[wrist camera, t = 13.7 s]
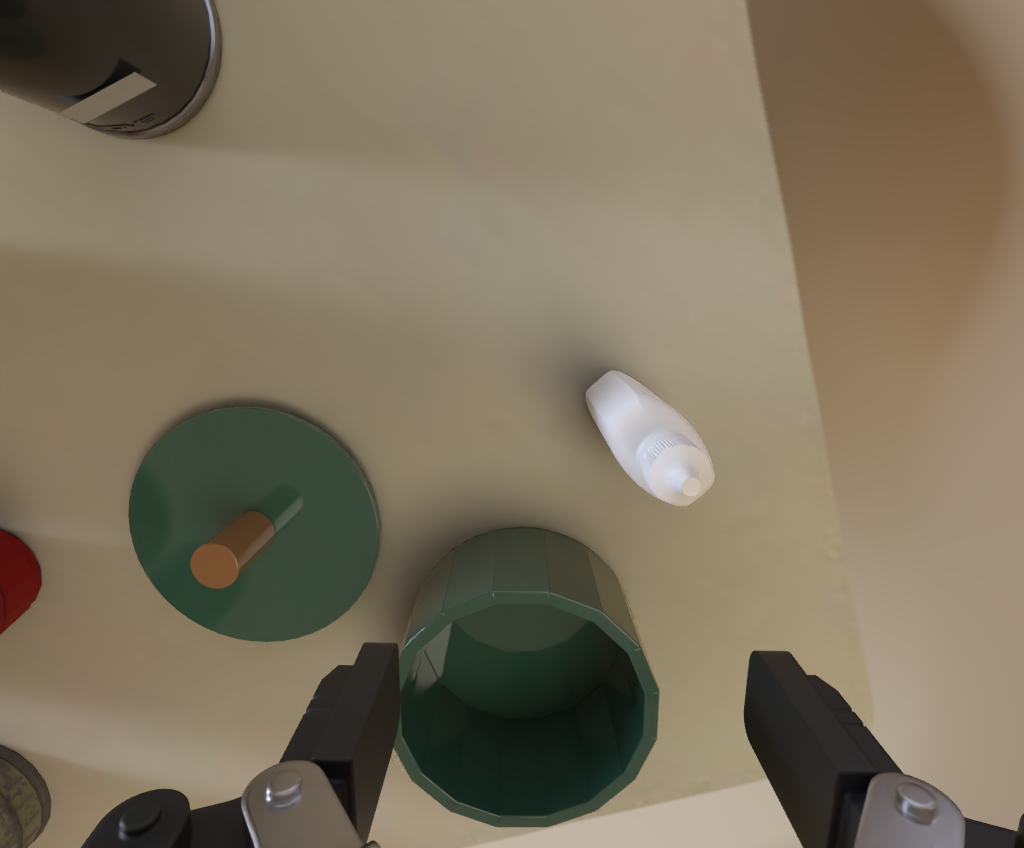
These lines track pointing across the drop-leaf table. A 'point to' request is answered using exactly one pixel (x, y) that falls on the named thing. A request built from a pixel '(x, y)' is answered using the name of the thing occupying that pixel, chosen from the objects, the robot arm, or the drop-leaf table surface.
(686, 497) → the eye dropper bottle
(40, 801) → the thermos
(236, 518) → the canister lid
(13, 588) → the plastic cup
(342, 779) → the robot arm
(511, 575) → the canister
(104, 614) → the drop-leaf table surface
